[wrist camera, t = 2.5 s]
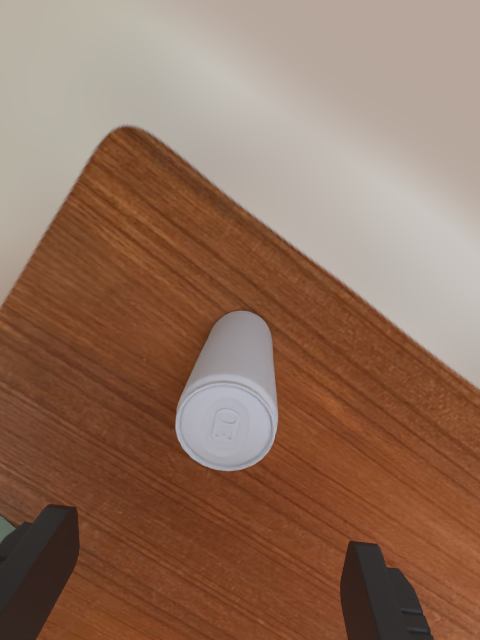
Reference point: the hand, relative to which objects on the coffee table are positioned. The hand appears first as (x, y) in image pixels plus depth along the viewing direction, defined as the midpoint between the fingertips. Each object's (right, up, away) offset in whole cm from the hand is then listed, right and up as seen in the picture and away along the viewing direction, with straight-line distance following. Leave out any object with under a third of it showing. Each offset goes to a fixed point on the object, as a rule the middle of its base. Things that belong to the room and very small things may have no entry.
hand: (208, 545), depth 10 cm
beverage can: (+1, +5, +17) cm, 18 cm away
